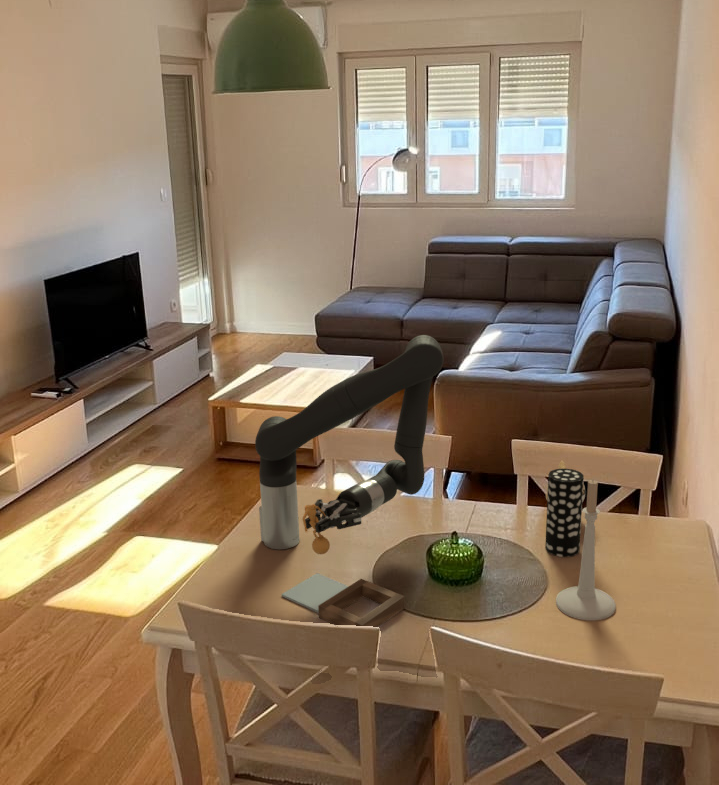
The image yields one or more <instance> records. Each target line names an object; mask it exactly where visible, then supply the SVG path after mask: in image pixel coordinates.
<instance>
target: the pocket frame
mask: <svg viewBox="0 0 719 785" xmlns="http://www.w3.org/2000/svg"><path fill="white" fill-rule="evenodd" d="M348 586H349V587H347V588H345V589H344V590H342V591H341V592H339V593H338V594H336V595H334V596H333V597H331V598H330V599H328V600H326V601H325V602H323V603H322V604H320V605H319V606H318V609H319V613H318V618H319V619H321V620H323V621H325V622H328V623H330V624H332V625H334V626H336V625H356V626H373V627H377V628H379V627H380V626H381V625H383V624H384V623H385V622H387V621H388V620H390V619H391V618H393V617H394V616H396V615H397V614H398V613H400V612H401V611H402V610H404V609H405V595H403V594H400V593H398V592H395V591H392V590H390V589H387V588H385V587H383V586H381V585H378V584H376V583H373V582H371V581H368V580H366V579H364V578H360V579H358V580H356V581H355V582H353V583H352V584H350V585H348ZM361 598H365V599H367V600H369V601H373V602H375V603H377V604H379V605H378V606H376V607H375V608H373V609H372V610H370V611H369V612H368V613H366V614H364V615H363V616H362V617H359V616H358V615H356V614H354V613H351V612H348V611H347V610H344V609H346V608H347V607H349V606H350V605H352V604H353V603H355V602H356V601H358V600H360V599H361Z"/></svg>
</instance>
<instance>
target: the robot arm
mask: <svg viewBox="0 0 719 785" xmlns="http://www.w3.org/2000/svg"><path fill="white" fill-rule="evenodd" d="M443 354H444V353H443V349H442V346H441V345H440V343H439V341H437V339H435V338H434V337H432V336H430V335H427V334H422V335H420V334H419V335H417V336H415V337H413V338H412V339H411V340H409V341H408V343H407V345H406V347H405V349H404V352H402V354H400V355H399V356H397V357H395V358H394V359H393V360H391V361H389V362H388V363H386V364H384V365H382V366H380V367H378V368H375V369H370V370H368V371H367V370H366V371H364V372H360V373H356V374H354V375H352V376H349V377H348V378H345V379H344V380H342V381H340V382H338V383H336V384H335V385H333V386H330V387H329V388H327V389H326V390H325V391H323V392H322V393H321V394H320V395H319V396H317V397H316V398H315V399H313V401H311V402H310V403H309V404H308V405H307V406H305V408H304V409H302V410H301V411H299V412H298V413H296V414H295V415H292V416H290V417H289V418H286V417H283V416H280V415H279V416H270V417H268V418H266V419H265V420H264V421H263V422H262V423H261V425H260V426H259V429H258V431H257V434H256V436H255V442H254V445H255V447H254V448H255V451H256V453H257V454H258V456H259V458H260V459H259V472H258V474H259V477H258V478H259V486H260V487H259V488H260V500H261V506H259V508H258V512H259V525H260V540H261V542H263V545H265V547H267V548H269V549H272V550H287V549H292V548H293V547H295V546H297V545H298V544H299V542H300V523H299V505H298V485H297V465H298V464H297V450H298V449H299V448H301V447H303V446H304V445H305V444H307V443H308V442H310V441H312V440H313V439H315V438H317V437H319V436H321V435H323V434H325V433H327V432H329V431H331V430H332V429H335V428H336V427H339V426H340V425H343V424H345V423H346V422H348V421H350V420H352V419H354V418H357V417H359V416H360V415H361V414H364V413H365V412H367V411H368V410H370V409H372V408H373V407H375V406H377V405H379V404H380V403H383V402H385V400H387V399H388V398H390V397H392V396H394V395H395V394H397V393H399V392H401V391H403V390H404V391H403V397H402V398H403V399H402V403H401V409H400V413H399V417H398V420H397V421H398V422H397V427H396V433H395V438H394V439H395V440H394V447H393V448H394V451H395V453H396V454H397V455H399V456H400V457H401V458H402V459H403V460H404V461H403V460H400V459H391V460H389V461H387V462H386V463H385V464H384V466H382V468H381V469H380V470H379V471H378V472H377V473H376V474H375V475H374V476H372V477H370V478H368V479H366V480H363V481H359V482H357V483H356V484H354V485H352V486H351V487H348V488H346V489H344V490H342V491H340V493H339V494H338V495H337V497H336V498H335V499H334V500H329V501H328V502H323V499H321V498H320V499H319V498H318V499H317V500H316V501H315V503H314V504H315V505H316V506H318V507H319V508H320V509H321V510H322V511H323V512H324V514H325V516H326V517H325V516H324V514H323V513H322V512H320V511H319V510H318V509H317V508H316V515H315V517H317V518H318V520H319V521H320V522H318V523H316V525H315V529H316V534H318V533H320V534H321V533H322V532H324V531H326V530H328V529H333V528H336V529H337V530H343V529H347V528H350V527H355V526H359V525H362V518H364V517H365V516H367V515H368V514H371V513H372V512H374V511H375V510H377V509H378V508H379V507H382V505H384V504H386V503H388V502H390V501H392V499H394V497H395V496H396V495H397V493H398V491H400V492H401V493H404V494H407V495H416V494H417V493H419V492H420V491H421V489H422V487H423V485H424V482H425V466H424V464H425V463H424V455H423V447H424V441H425V435H426V430H427V429H426V428H427V421H428V410H429V409H428V408H429V398H430V393H431V392H430V391H431V386H432V382H433V379H434V376H436V375H437V374H439V372H440V371H441V370H442V367H443V366H444V362H445V361H444V359H445V358H444V355H443ZM310 521H311V520H310V518H309V517H306V518H305V523H306V528H307V530H310V529H311V528H313V527H312V526H311V525H310ZM344 522H345V523H344ZM315 529H314V530H315Z"/></svg>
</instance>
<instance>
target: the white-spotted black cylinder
mask: <svg viewBox="0 0 719 785" xmlns="http://www.w3.org/2000/svg"><path fill="white" fill-rule="evenodd" d="M584 476H585V475H584V474H583V473H582V472H580V471H579V470H576V469H572V468H566V469H559V468H556V469H553V470H550V471H549V472H548V480H547V487H548V499H547V500H546V503H547V504H546V524H545V525H546V526H545V543H544V544H545V545H544V546H545V547H544V548H545V550H546V552H548V554H550V555H553V556H556V557H560V558H561V557H562V558H569V557H570V558H571V557H573V556H576V555H578V554H579V553H580V546H581V531H582V528H581V527H582V515H583V513H582V512H583V502H582V497H583V483H584V481H585V480H584Z"/></svg>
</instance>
